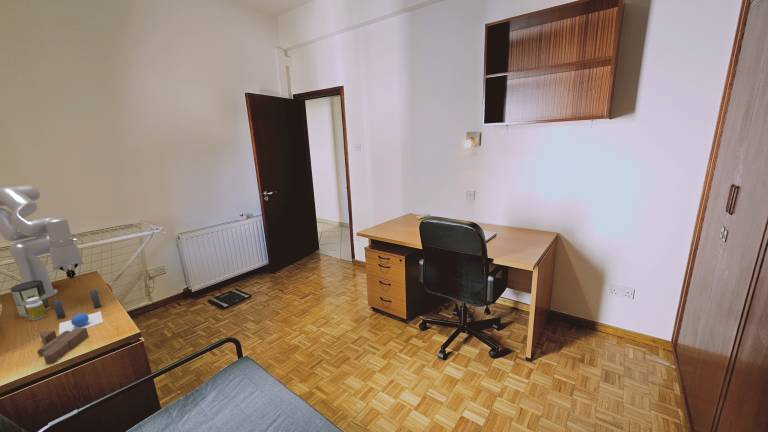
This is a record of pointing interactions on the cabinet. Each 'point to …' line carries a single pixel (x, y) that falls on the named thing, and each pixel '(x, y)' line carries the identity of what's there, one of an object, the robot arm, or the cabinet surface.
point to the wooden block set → (60, 343)
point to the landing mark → (93, 320)
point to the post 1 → (58, 308)
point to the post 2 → (95, 298)
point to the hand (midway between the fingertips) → (72, 277)
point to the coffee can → (29, 295)
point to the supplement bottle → (35, 308)
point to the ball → (80, 319)
